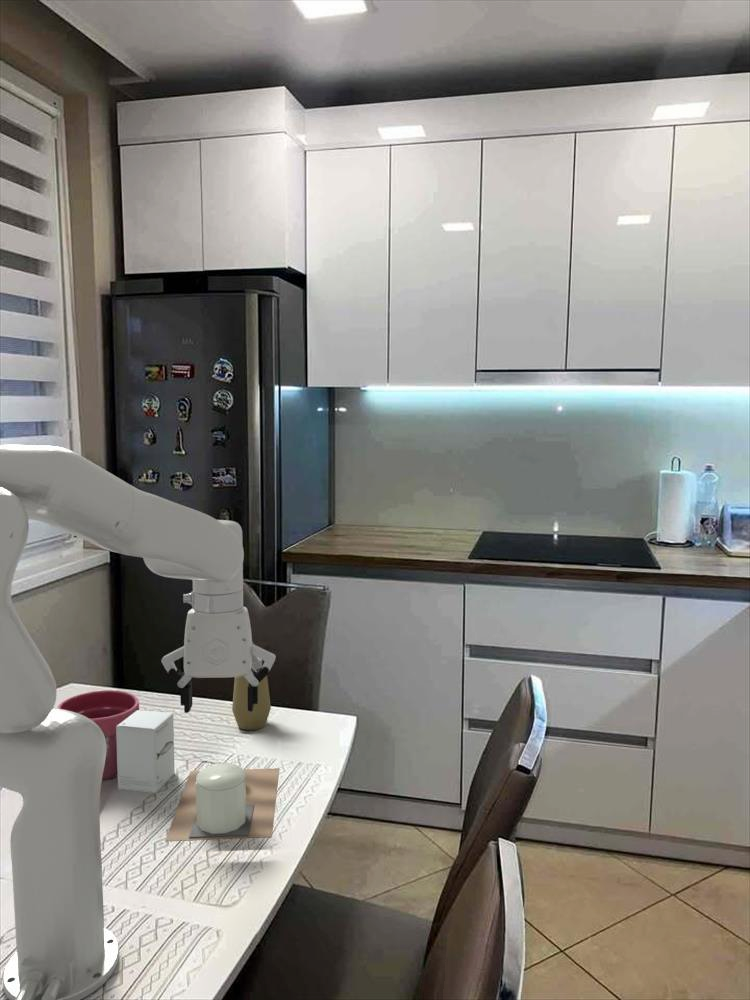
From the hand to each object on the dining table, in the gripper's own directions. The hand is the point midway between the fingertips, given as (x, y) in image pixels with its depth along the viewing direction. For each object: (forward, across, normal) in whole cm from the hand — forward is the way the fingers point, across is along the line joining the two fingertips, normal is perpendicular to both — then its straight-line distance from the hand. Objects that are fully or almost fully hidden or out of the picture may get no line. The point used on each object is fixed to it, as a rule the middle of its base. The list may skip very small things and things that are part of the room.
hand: (219, 708), depth 114 cm
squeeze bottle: (+20, +1, +39) cm, 44 cm away
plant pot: (+20, -25, +21) cm, 38 cm away
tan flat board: (+20, 0, +6) cm, 21 cm away
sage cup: (+18, 0, 0) cm, 18 cm away
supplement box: (+20, -15, +14) cm, 29 cm away
